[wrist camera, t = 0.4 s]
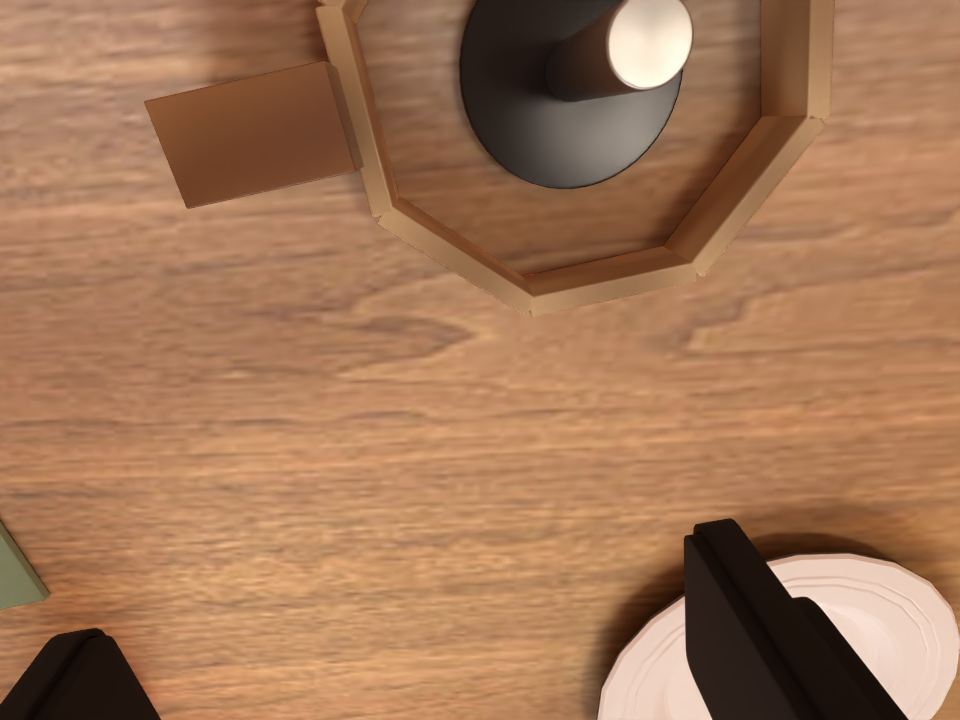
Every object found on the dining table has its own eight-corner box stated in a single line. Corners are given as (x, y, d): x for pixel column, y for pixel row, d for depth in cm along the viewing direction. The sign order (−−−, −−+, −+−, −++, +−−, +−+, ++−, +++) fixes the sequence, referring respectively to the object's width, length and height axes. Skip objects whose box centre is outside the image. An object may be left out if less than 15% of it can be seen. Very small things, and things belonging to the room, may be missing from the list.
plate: (901, 757, 38) (923, 788, 36) (595, 800, 38) (602, 833, 36) (972, 506, 30) (1005, 530, 28) (582, 558, 29) (591, 585, 28)
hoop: (131, -113, 18) (23, -195, 13) (784, -266, 17) (908, -406, 13) (296, 343, 24) (261, 396, 19) (780, 239, 23) (862, 267, 19)
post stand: (436, -31, 19) (431, -144, 11) (668, -84, 19) (838, -239, 11) (483, 206, 22) (506, 254, 14) (682, 162, 22) (822, 185, 14)
